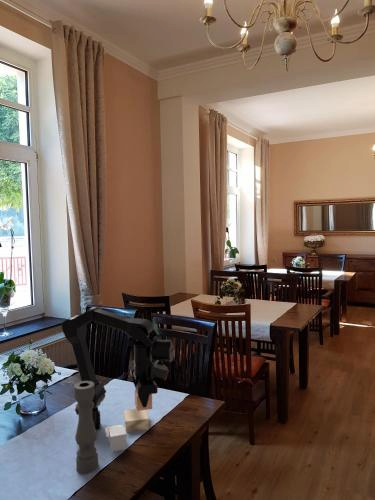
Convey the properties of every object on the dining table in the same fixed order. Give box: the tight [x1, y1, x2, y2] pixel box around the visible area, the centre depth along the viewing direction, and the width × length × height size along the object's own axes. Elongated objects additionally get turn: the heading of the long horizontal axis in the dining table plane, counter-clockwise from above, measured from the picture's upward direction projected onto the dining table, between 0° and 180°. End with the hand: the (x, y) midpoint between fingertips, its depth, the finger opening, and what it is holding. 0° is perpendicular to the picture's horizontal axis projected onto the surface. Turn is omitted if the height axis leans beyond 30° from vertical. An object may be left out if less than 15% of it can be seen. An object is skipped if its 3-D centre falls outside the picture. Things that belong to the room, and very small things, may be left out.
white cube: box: [108, 425, 128, 453], centre depth 126 cm, size 5×5×5 cm
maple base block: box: [124, 408, 150, 433], centre depth 139 cm, size 8×8×4 cm
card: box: [104, 424, 123, 438], centre depth 135 cm, size 6×6×1 cm
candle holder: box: [73, 380, 99, 475], centre depth 115 cm, size 6×6×25 cm
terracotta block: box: [134, 389, 153, 411], centre depth 132 cm, size 5×5×5 cm
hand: (143, 403), depth 132 cm, fingers closed on terracotta block, 5 cm apart
